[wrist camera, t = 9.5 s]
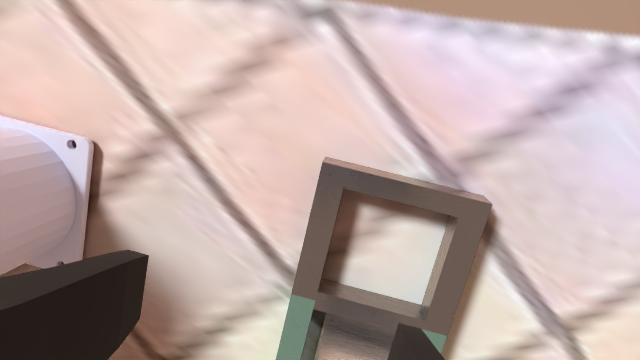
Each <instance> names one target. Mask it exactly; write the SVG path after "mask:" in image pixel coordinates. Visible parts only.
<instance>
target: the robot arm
mask: <svg viewBox="0 0 640 360" xmlns="http://www.w3.org/2000/svg"><path fill="white" fill-rule="evenodd" d="M73 140H74V141H75V143H76V148H74V147H73V145H72V141H73ZM93 152H94V145H93V142H92V141H91V140H90V139H89V138H87V137H84V136H80V135H77V134H73V133H69V132H65V131H61V130H57V129H53V128H49V127H45V126H41V125H37V124H33V123H29V122H25V121H21V120H17V119H13V118H10V117H6V116H2V115H0V275H2V274H4V273H6V272H8V271H10V270H12V269H14V268H16V267H18V266H20V265H22V264H24V263H25V264H29V265H32V266H36V267H40V268H43V269H41V270H36V271H32V272H27V273H22V274H18V275H13V276H8V277H2V278H0V360H108V358H109V357H110V356H111V355H112V354H113V353H114V352H115V351H116V350H117V349H118V348H119V346H120V345H121V344H122V342H123V341H124V340H125V338H126V337H127V336H128V335H129V333H130V332H131V330H132V329H133V327H134V326H135V325H136V323H137V322H138V320H139V319H140V313H141V306H142V299H143V292H144V285H145V278H146V271H147V264H148V257H149V255H145V254H141V253H138V252H134V251H130V250H125V251H118V252H113V253H108V254H104V255H100V256H96V257H92V258H88V259H84V260H82V259H83V250H84V240H85V230H86V220H87V211H88V201H89V191H90V181H91V172H92V162H93ZM61 261H62V262H63V263H64V264H63V265H62V262H61ZM387 360H445V359H444V358H443V357H442V355H441V354H440V353H439V351H438V350H437V349H436V347H435V346H434V345H433V343H432V342H431V341H430V339H429V338H428V337H427V335H426V334H425V333H424V332H423V331H422V329H420V328H417V327H413V326H409V325H406V324H402V323H398V327H397V330H396V333H395V336H394V339H393V343H392V346H391V349H390V352H389V356H388V359H387Z"/></svg>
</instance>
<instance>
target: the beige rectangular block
mask: <svg viewBox="0 0 640 360" xmlns="http://www.w3.org/2000/svg"><path fill="white" fill-rule="evenodd" d="M395 333H396V332H395V331H392V330H388V329H384V328H381V327H377V326H373V325H370V324H366V323H362V322H358V321H355V320H351V319H347V318H344V317H340V316H336V315H333V314H329V313H326V315H325V319H324V323H323V327H322V331H321V335H320V338H319V342H318V346H317V350H316V354H315V357H314V360H387V359H388V356H389V352H390V349H391V346H392V343H393V339H394V336H395Z"/></svg>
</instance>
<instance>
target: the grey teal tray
mask: <svg viewBox="0 0 640 360" xmlns="http://www.w3.org/2000/svg"><path fill="white" fill-rule="evenodd" d="M343 189H347V190H351V191H355V192H359V193H363V194H367V195H371V196H375V197H379V198H383V199H387V200H391V201H395V202H399V203H403V204H407V205H411V206H415V207H419V208H423V209H427V210H431V211H435V212H439V213H443V214H447V215H450V217H449V221H448V224H447V227H446V230H445V233H444V236H443V239H442V242H441V245H440V249H439V252H438V255H437V258H436V261H435V264H434V267H433V270H432V274H431V277H430V280H429V283H428V286H427V289H426V292H425V295H424V299H423V302H422V305H418V304H414V303H411V302H407V301H403V300H399V299H396V298H392V297H388V296H384V295H381V294H377V293H373V292H369V291H366V290H362V289H358V288H354V287H350V286H347V285H343V284H339V283H335V282H332V281H328V280H324V279H321V276H322V272H323V268H324V264H325V260H326V256H327V252H328V248H329V244H330V240H331V236H332V232H333V228H334V224H335V220H336V216H337V213H338V209H339V205H340V201H341V197H342V193H343ZM491 207H492V203H491V202H490V201H488V200H487V199H486V198H485V197H484V196H482V195H478V194H474V193H469V192H465V191H461V190H457V189H453V188H449V187H445V186H441V185H437V184H433V183H429V182H425V181H421V180H417V179H413V178H409V177H405V176H401V175H397V174H393V173H389V172H385V171H381V170H377V169H373V168H369V167H365V166H361V165H357V164H353V163H349V162H345V161H341V160H336V159H332V158H328V157H325V159H324V160H323V163H322V167H321V171H320V175H319V179H318V184H317V188H316V192H315V196H314V201H313V205H312V209H311V213H310V218H309V222H308V226H307V230H306V234H305V239H304V243H303V247H302V251H301V256H300V260H299V264H298V268H297V273H296V277H295V281H294V285H293V289H292V294H291V298H290V302H289V306H288V311H287V315H286V319H285V323H284V328H283V332H282V336H281V340H280V344H279V349H278V353H277V357H276V360H300V359H301V355H302V351H303V347H304V343H305V339H306V335H307V331H308V327H309V323H310V319H311V316H312V312H313V309H314V310H318V311H321V312H325V313H329V314H333V315H336V316H340V317H344V318H347V319H351V320H355V321H358V322H362V323H366V324H370V325H373V326H377V327H381V328H384V329H388V330H392V331H395V332H396V330H397V327H398V323H402V324H406V325H409V326H413V327H417V328H420V329H422V331H423V332H424V333H425V334H426V335H427V337H428V338H429V339H430V341H431V342H432V343H433V345H434V346H435V347H436V349H437V350H438V351H439V353H440V354H441V352H442V350H443V347H444V344H445V341H446V338H447V335H448V332H449V329H450V326H451V323H452V320H453V317H454V315H455V312H456V309H457V306H458V303H459V300H460V297H461V294H462V291H463V288H464V285H465V283H466V280H467V277H468V274H469V271H470V268H471V265H472V262H473V259H474V256H475V253H476V251H477V248H478V245H479V242H480V239H481V236H482V233H483V230H484V227H485V224H486V221H487V219H488V216H489V213H490V210H491Z"/></svg>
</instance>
